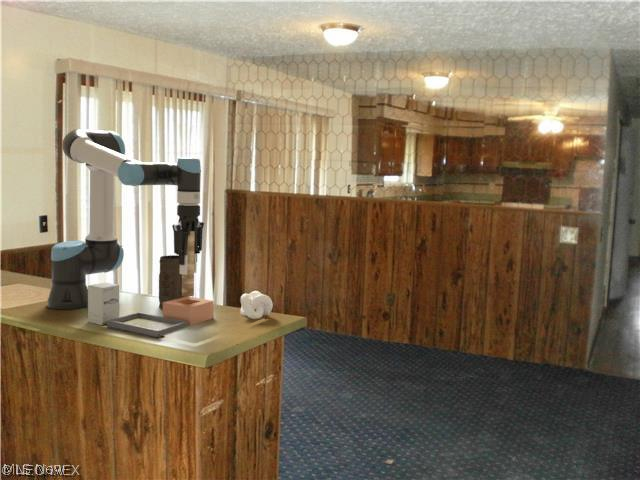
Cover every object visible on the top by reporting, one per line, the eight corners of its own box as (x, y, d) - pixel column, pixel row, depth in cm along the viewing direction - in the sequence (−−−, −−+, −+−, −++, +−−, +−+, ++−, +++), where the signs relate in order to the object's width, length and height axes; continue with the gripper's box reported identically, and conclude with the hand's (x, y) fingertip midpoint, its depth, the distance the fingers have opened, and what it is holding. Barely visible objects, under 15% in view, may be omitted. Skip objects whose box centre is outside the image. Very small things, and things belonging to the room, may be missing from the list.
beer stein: (180, 313, 227) (182, 258, 225) (152, 311, 229) (154, 256, 227) (197, 307, 242) (198, 255, 240) (170, 305, 244) (172, 253, 243)
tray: (107, 327, 206) (107, 320, 206) (138, 319, 218) (138, 311, 218) (157, 338, 195) (157, 330, 195) (188, 328, 208) (188, 321, 207)
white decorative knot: (260, 324, 217) (260, 298, 215) (230, 319, 221) (230, 294, 220) (275, 317, 227) (276, 292, 226) (246, 312, 232) (246, 288, 230)
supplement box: (102, 325, 209) (101, 287, 207) (87, 321, 212) (86, 284, 211) (120, 321, 215) (119, 284, 213) (105, 317, 219) (105, 281, 217)
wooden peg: (179, 295, 215) (179, 231, 212) (187, 293, 218) (187, 230, 215) (188, 297, 213) (189, 232, 210) (196, 295, 216) (197, 231, 213)
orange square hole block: (162, 322, 214) (162, 302, 213) (186, 315, 225) (186, 296, 224) (190, 328, 208) (190, 307, 208) (213, 320, 219) (213, 300, 218)
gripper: (180, 206, 202) (179, 278, 205) (213, 203, 217) (212, 271, 220) (162, 204, 206) (162, 275, 209) (196, 202, 221) (196, 268, 224)
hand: (188, 273), depth 214 cm, fingers closed on wooden peg, 4 cm apart
